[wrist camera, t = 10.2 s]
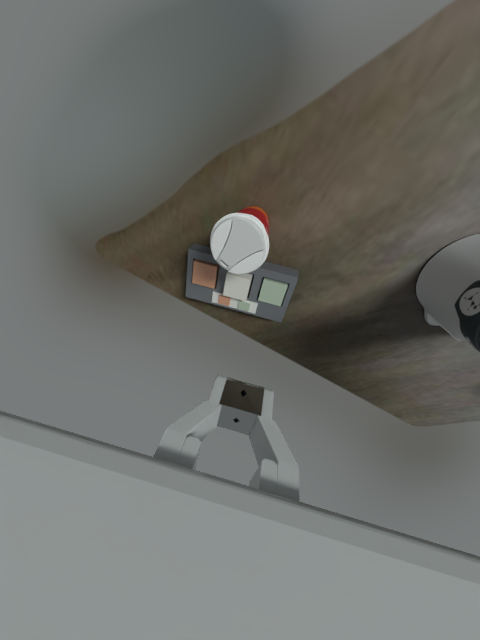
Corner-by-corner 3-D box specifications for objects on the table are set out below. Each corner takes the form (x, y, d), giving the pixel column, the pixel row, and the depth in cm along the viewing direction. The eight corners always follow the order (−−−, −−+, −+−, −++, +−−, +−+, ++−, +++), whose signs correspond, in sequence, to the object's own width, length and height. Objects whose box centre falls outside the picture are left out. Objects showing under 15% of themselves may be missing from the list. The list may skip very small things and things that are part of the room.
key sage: (288, 280, 43) (287, 285, 41) (281, 300, 45) (280, 306, 43) (265, 274, 43) (263, 279, 41) (259, 294, 45) (257, 300, 43)
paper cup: (254, 254, 43) (240, 288, 31) (222, 225, 41) (195, 249, 29) (285, 221, 39) (282, 246, 27) (251, 186, 37) (233, 198, 25)
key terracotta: (220, 262, 43) (217, 267, 41) (217, 283, 46) (214, 288, 44) (198, 256, 43) (193, 261, 41) (196, 277, 46) (192, 282, 44)
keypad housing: (298, 269, 43) (298, 278, 40) (282, 313, 49) (281, 324, 45) (195, 243, 44) (187, 249, 40) (191, 289, 49) (184, 297, 46)
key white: (252, 274, 42) (251, 280, 40) (247, 295, 44) (245, 301, 42) (229, 268, 42) (226, 273, 40) (225, 289, 44) (222, 295, 43)
